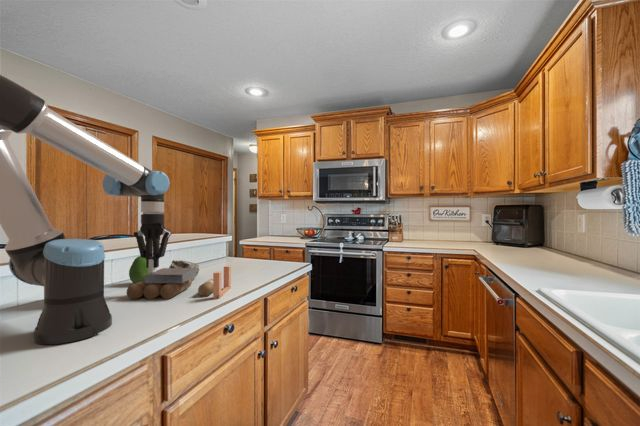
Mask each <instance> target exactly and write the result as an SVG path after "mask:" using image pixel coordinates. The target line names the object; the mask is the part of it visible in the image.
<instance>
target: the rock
mask: <svg viewBox="0 0 640 426" xmlns="http://www.w3.org/2000/svg"><path fill="white" fill-rule="evenodd" d="M168 268H196V276H195V277H193V278H191V281H192V282H193V281H194V280H195V278H196V277H197V276H198V274H199V271H200V266H199V264H198V263H196V262H195V263H194V262H190V261H186V260H175V259H173V260H172V261H171V264H170V265H169V267H168Z"/></svg>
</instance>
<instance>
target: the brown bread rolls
mask: <svg viewBox="0 0 640 426" xmlns="http://www.w3.org/2000/svg"><path fill="white" fill-rule="evenodd" d="M192 282H193V281H191V279H189V280H187V281H185V282H183V283H145V280H144V281H141V282H139V283H136V284H134V283H133V284H131V285H130V286H128V287H127V289H126V295H127V297H128V299H131V300H136V299H139V298H141V297H145V298H146V299H148V300H153V299H156V298H158V297H159V296H161V297H162V298H163V299H164V300H165V299H166V300H169V299H171V298H174V297H175V296H177V295H178V294H181V292H184V291H185V290H187V289H189V288H190V287H191V285H192Z"/></svg>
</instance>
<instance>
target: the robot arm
mask: <svg viewBox="0 0 640 426" xmlns="http://www.w3.org/2000/svg"><path fill="white" fill-rule="evenodd" d="M12 133H16V134H26V135H29V136H31V137H33V138H35V139H37V140H39V141H41V142H43V143H44V144H47V145H49V146H50V147H53V148H54V149H57V150H58V151H60V152H63V153H64V154H67V155H68V156H69V157H72V158H74V159H76V160H78V161H80V162H81V163H84V164H85V165H88V166H90V167H91V168H93V169H96V170H98V171H99V172H101V173H103V174H105V175H104V176H103V179H102V188H103V192H104V193H105V194H107V195H109V196H116V197H138V198H139V197H140V212H141V213H142V214H140V223H141V226H140V228H139V230H137V231H134V232H133V236H134V237H135V239H136V243H137V246H138V250H139V256H141V257H142V258H145V259H146V267H147V268H149V273H151V272H154V271H157V270H158V268H159V266H160V259H161V258H163V257H165V254H166V250H167V246H168V242H169V238H170V237H171V235H172V232H171V231H169V230H166V227H165V214H164V212H165V194H166V193H167V192H168V191H169V187H170V185H171V183H170V178H169V177H168V175H167V174H166V173H165V172H164V171H161V170H160V171H159V170H151V169H150V168H148V167H146V166H144V165H143V164H141V163H139V162H138V161H136V160H135V159H133V158H131V157H130V156H128V155H126V154H124V153H123V152H121V151H120V150H118V149H116V147H113V146H111V145H110V144H108V143H106V142H105V141H103V140H101V138H99V137H97V136H96V135H94V134H92V133H91V132H89V131H87V130H85V129H84V128H82V127H81V126H79V125H77V124H76V123H74V122H72V121H71V120H69V119H67V118H65V117H64V116H62V115H61V114H59V113H57V112H56V111H54V110H52V109H51V108H49V106H48V104H47V101H46V100H45V99H43V98H41V97H40V96H38V95H37V94H35V93H34V92H32V91H30V90H29V89H27V88H25V87H24V86H22V85H20V84H18V83H17V82H15V81H13V80H11V79H9V78H7V77H5V76H4V75H1V74H0V226H1V229H2V230H3V232H4V233H5V235H6V237H7V240H8V242H7V243H6V245H5V246H4V250H5V252H6V254H7V255H8V257H9V261H8V268H9V270H10V272H11V274H12V275H13V276H14V277H15V278H16V279H17V280H19V281H20V282H22V283H25V284H28V285H34V286H41V287H43V308H42V311H41V313H40V315H39V318H38V320H37V323H36V324H37V325H36V326H35V328H34V329H33V342H34V343H35V344H38V345H58V344H66V343H72V342H76V341H81V340H84V339H88V338H91V337H94V336H97V335H98V334H100V333H102V332H104V331H106V330H107V329H109V328H110V327H111V326H112V325H113V316H112V313H111V312H110V310H109V309H110V308H109V306H108V304H107V301H106V299H105V259H106V254H105V249H104V244H102V242H100V241H98V240H95V239H90V238H84V239H83V238H67V237H66V236H65V234H64V231H63V230H62V229H59V228H56V227H54V226H52V224H51V222H50V219H49V218H48V216H47V214H46V212H45V210H44V208H43V206H42V205H41V202H40V201H39V199H38V196H37V194H36V193H35V190H34V189H33V187H32V185H31V183H30V180H29V179H28V176H27V174H26V173H25V171H24V169H23V167H22V165H21V163H20V162H19V158H17V156H16V155H17V154H15V151H14V149H13V148H12V146H11V143H10V142H9V137H10V136H11V134H12ZM161 236H162V237H161ZM160 241H161V242H160Z"/></svg>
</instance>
